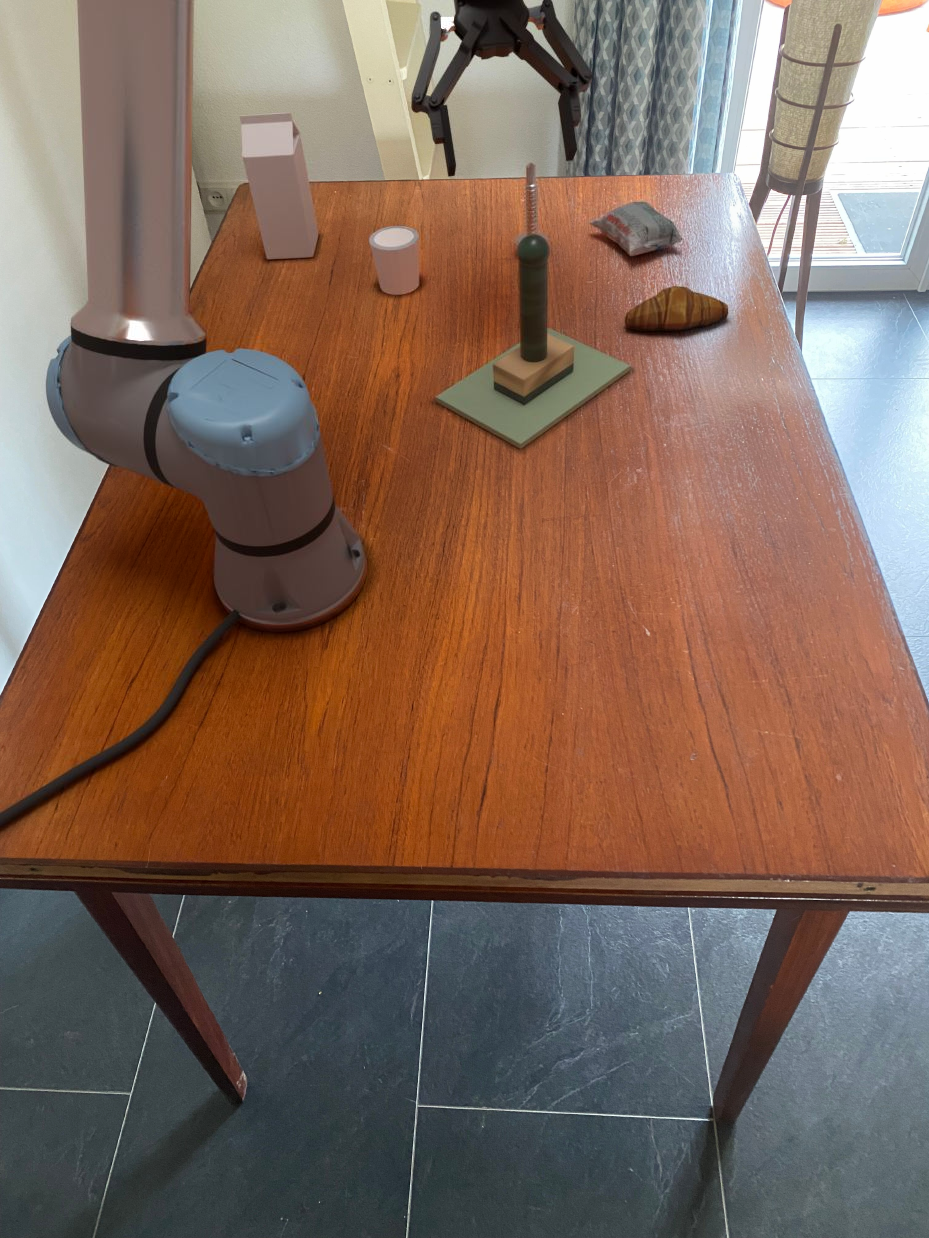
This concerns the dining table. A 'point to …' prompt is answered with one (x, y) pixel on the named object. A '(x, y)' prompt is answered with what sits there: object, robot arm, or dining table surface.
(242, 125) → the milk carton
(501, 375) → the scrub brush
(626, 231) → the packaged food
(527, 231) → the screw
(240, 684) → the dining table surface
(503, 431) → the mat
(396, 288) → the yogurt cup
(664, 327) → the croissant
